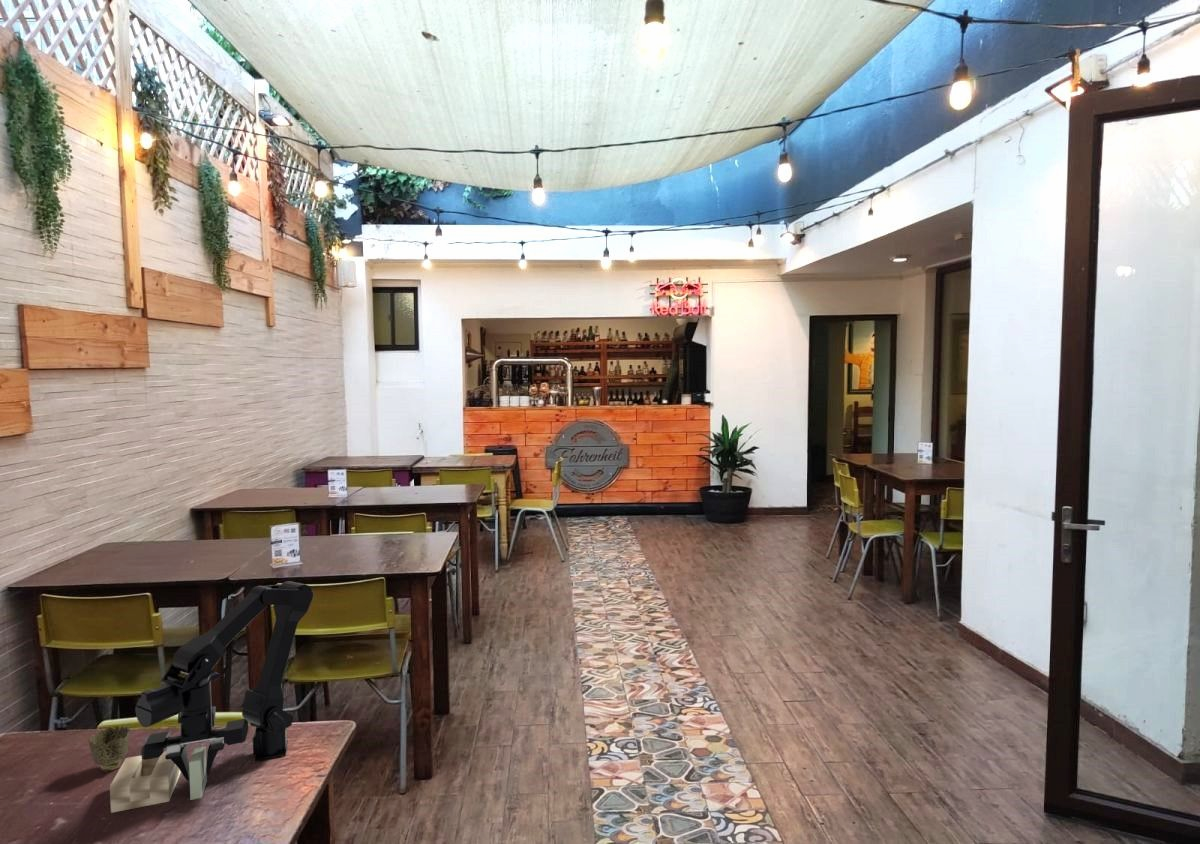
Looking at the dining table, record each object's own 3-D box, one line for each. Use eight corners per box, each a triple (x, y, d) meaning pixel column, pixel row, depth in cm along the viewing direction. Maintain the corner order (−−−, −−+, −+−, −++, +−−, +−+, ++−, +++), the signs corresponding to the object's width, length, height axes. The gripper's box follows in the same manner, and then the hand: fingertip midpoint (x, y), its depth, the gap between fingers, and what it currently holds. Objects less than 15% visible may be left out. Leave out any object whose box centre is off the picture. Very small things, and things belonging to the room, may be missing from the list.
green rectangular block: (207, 781, 145) (205, 745, 144) (201, 797, 139) (200, 760, 139) (195, 784, 144) (194, 747, 143) (190, 800, 138) (188, 762, 138)
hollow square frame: (180, 772, 148) (179, 748, 148) (169, 801, 138) (168, 775, 137) (127, 782, 144) (126, 758, 144) (111, 812, 134) (109, 786, 134)
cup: (109, 779, 145) (107, 743, 145) (81, 775, 147) (79, 740, 147) (139, 760, 153) (138, 726, 152) (112, 757, 154) (111, 723, 154)
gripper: (250, 682, 151) (252, 749, 152) (153, 696, 144) (156, 766, 145) (243, 704, 141) (246, 775, 142) (139, 720, 134) (142, 795, 135)
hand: (198, 777), depth 141 cm, fingers open, 3 cm apart
